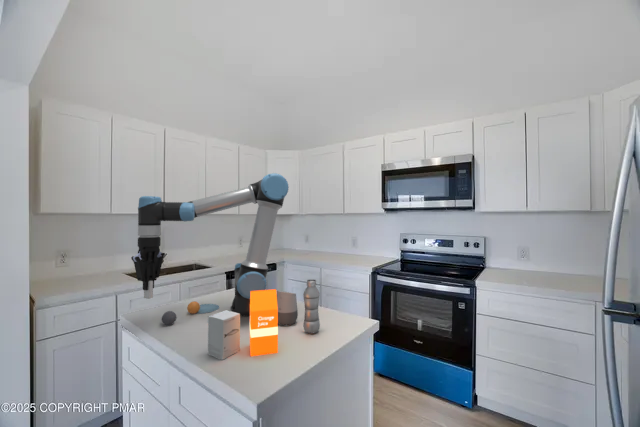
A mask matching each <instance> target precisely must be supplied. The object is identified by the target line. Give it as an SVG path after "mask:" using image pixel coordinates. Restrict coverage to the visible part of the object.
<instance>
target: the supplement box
mask: <svg viewBox="0 0 640 427" xmlns="http://www.w3.org/2000/svg"><path fill="white" fill-rule="evenodd" d="M207 317H208V319H207V320H208V322H207V323H208V325H207V354H208V355H209V356H210V357H213V358H216V359H219V360H221V361H224V360H225V359H226V358H228V357H231V356H232V355H234V354H236V353H238V352H240V350H241V349H240V348H241V316H240V314H239V313H236V312H231V310H226V309H225V310H223V311H220V312H218V313H214V314H211V315H209V316H207Z"/></svg>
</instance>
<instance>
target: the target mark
mask: <svg viewBox="0 0 640 427" xmlns="http://www.w3.org/2000/svg"><path fill="white" fill-rule="evenodd" d="M217 310H220V305H218V304H216V303H203V304H200V309H199V311H198V312H197V313H195V315H196V314H197V315H199V314H208V313H212V312H215V311H217Z"/></svg>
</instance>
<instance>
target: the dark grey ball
mask: <svg viewBox="0 0 640 427" xmlns="http://www.w3.org/2000/svg"><path fill="white" fill-rule="evenodd" d="M177 318H178V317H177V313H176V312H175V311H173V310H168V311H166V312H164V313H163V314H162V316H161V323H162V324H163V325H165V326H170V325H173V324H174V323H175V322H176V320H177Z"/></svg>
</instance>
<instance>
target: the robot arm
mask: <svg viewBox="0 0 640 427" xmlns="http://www.w3.org/2000/svg"><path fill="white" fill-rule="evenodd" d="M289 187H290V186H289V183H288V181H287V179H286V178H285V177H284V176H283V175H281V174H280V173H276V172H273V173H268V174H266V175H265V176H263V177H262V178H261V179H260V180H258V181H256V182H253V183H250V184H248V186H246V187H243V188H238V189H235V190H234V189H233V190H230V191H227V192H224V193H219V194H213V195H210V196H206V197H203V198H199V199H195V200H192V201H187V202H186V201H185V202H184V201H183V202H179V201H178V202H177V201H176V202H175V201H174V202H173V201H172V202H171V201H169V202H168V201H167V202H166V201H162V197H160V196H151V195H150V196H149V195H143V196H140V197H139V199H138V207H137V215H138V217H137V220H138V222H137V236H138V237H137V247H138V250H137V253H136V255H134V256H133V255H132V256H131V260H132V262H133V265H134V269H135V274H136V280H137V281H138V282H139V281H140V282H142V291H143V299H146V300H147V299H148V300H150V299H153V297H154V296H153V295H154V288H155V281H157V279H158V278H160V274H161V269H162V264H163V259H164V258H165V255H166V253H165V252H162V251H161V249H160V247H161V239H162V238H161V237H160V236H161V235H162V232H161V230H162V226H161V225H162V224H161V222H192V221H194V220H195V219H196V218H200V217H203V216H206V215H209V214H214V213H218V212H220V211H221V212H222V211H225V210H229V209H233V208H236V207H241V206H244V205H249V204H250V203H253V204H258V206H257V211H256V216H255V219H254V225H253V227H252V232H251V237H250V241H249V245H248V249H247V254H246V256H245V260H243V261H241V262H239V263H235V265H234V297H233V300H232V303H231V306H230V311H231V312H236V313H239V314H240V317H250V292H251V291H258V290H267V275H268V270H269V266H268V264H266V263H267V260H268V259H267V258H268V255H269V250H270V247H271V242H272V238H273V234H274V229H275V224H276V221H277V216H278V212H279V210H280V209H282V208H283V206H284V205H283V204H284V200H285V198H286V196H288V192H289Z"/></svg>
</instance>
